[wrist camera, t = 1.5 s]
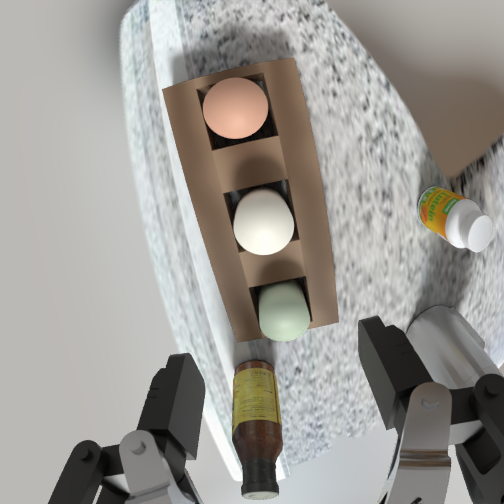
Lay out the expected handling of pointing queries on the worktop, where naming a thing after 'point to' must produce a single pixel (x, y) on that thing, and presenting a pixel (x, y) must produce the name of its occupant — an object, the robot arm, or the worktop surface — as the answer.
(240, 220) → the button cream
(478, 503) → the robot arm
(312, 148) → the panel
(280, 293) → the button sage
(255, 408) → the sauce bottle
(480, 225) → the supplement bottle
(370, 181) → the worktop surface
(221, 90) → the button terracotta
